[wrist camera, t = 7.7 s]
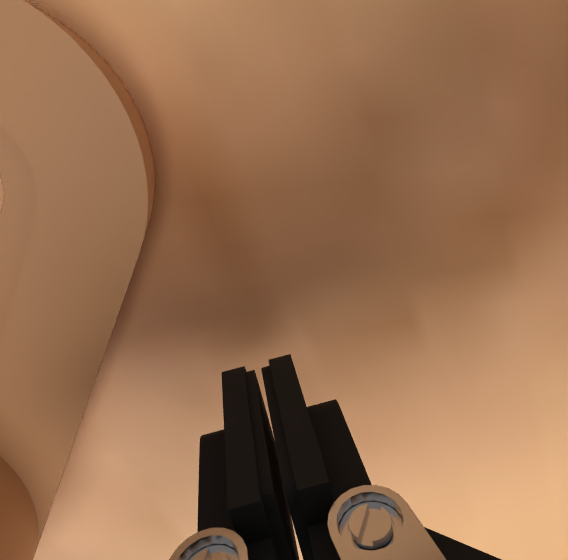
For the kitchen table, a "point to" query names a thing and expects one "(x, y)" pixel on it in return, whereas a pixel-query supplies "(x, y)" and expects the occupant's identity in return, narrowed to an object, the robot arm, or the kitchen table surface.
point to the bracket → (58, 249)
